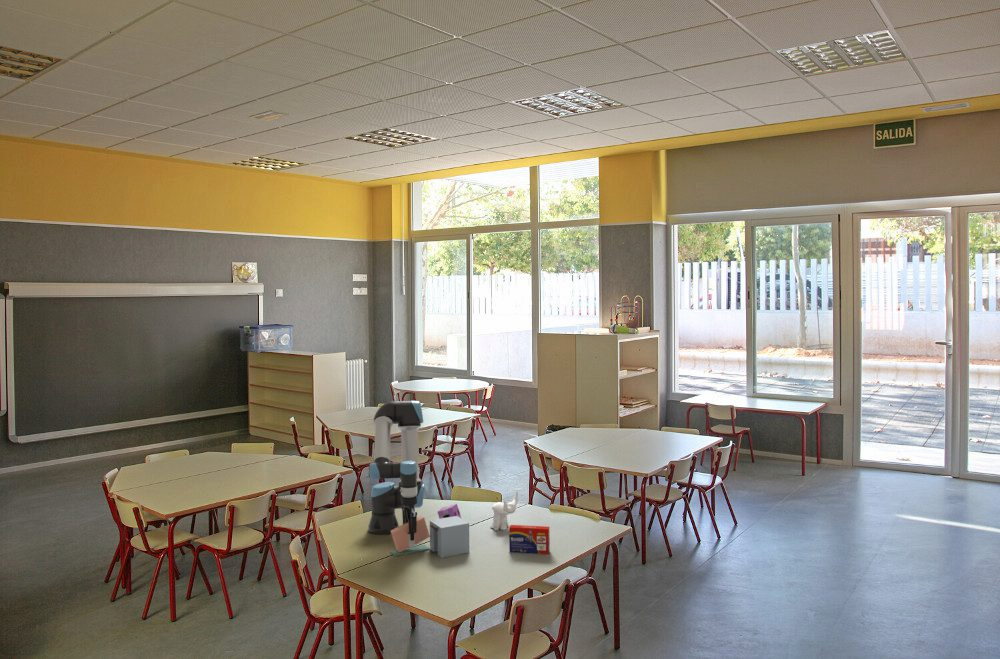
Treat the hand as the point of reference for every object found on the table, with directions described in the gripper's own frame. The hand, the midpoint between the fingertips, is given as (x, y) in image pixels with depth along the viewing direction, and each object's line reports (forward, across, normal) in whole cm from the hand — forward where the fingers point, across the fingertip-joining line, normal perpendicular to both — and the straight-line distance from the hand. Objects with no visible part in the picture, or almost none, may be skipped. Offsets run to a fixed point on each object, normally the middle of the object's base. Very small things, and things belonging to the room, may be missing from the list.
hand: (409, 545), depth 337 cm
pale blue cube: (+3, +9, +16) cm, 18 cm away
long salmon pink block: (-1, 0, +2) cm, 2 cm away
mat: (+3, 0, 0) cm, 3 cm away
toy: (+3, -10, +26) cm, 28 cm away
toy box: (+3, +29, +47) cm, 55 cm away
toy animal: (+3, -8, +54) cm, 55 cm away
